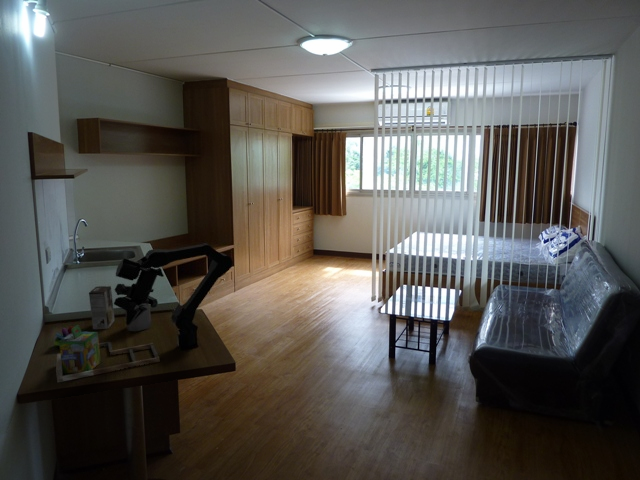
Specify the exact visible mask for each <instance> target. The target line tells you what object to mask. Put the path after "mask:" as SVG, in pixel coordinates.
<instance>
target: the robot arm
mask: <svg viewBox="0 0 640 480" xmlns="http://www.w3.org/2000/svg"><path fill="white" fill-rule="evenodd" d="M202 256H206V257H207V258H208V259H210V260H211V262H210V264H209V268H208V271H207V272H206V273H205V275H204V277H203V278H202V280H201V281H200V283H199V284H198V285H197V286H196V287H195V289H194V290H193V292H192V293H191V295H190V297H189V298H188V300H187V301H186V302H185V303H184V304H182V305H181V303H178V304H177V305H176V307H175V309H174V310H173V311H171V313H172V315H171V322H172V323H173V325H174V326H175V327H176V328H177V329H178V330H177V332H178V334H176V337H177V346H178V347H179V348H180V350H188V349H193V348H198V347H199V345H200V344H199V343H198V328H199V327H198V325H197V324H196V323H195V322H194V319H195V315H196V312H197V310H198V308H199V307H200V305H201V304H202V302H203V301H204V300H205V298H206V296H207V295H208V293H210V291H211V289H213V286H214V285H215V284H216V283H217V281H218V280H219V279H220V278H221V277H223V276H224V275H226V273H227V272H228V271H229V270H230V269H232V267H233V265H234V262H233V260H232V257H231V256H229V255H227V254H225V253H222V252H219V251H217V250H216V249H214V248H213V247H212V246H211V245H210V244H208V243H205V242H204V243H201V244H196V245H191V246H185V247H180V248H174V249H160V248H159V249H157V248H156V249H149V250H148V251H147V252H146V254H145V255H144V256H143V257H141V258H140V259H138V260H137V261H134V260H131V259H128V258H126V257H122V259H121V261H120V262H119V263H118V265H117V268H116V270H115V277H118V278H122V279H125V280H129V281H135V280H136V282H135V283H132V284H131V285H125V284H124V283H117V284H116V286H115V288H114V292H115V293H116V295H117V296H119V297H117V298H115V300H114V301H113V306H117V307H118V308H121V309H122V310H124V311H125V310H126V311H127V318H126V317H125V320H126V321H125V324H126V326H127V325H130V324H131V323H132V322H133V321H134V320H136V319H137V318H138V317H139V316H140V315H141V314H142V313H143V312H144V311H146V310H147V308H145V307H144V306H145V305H144V304H149V306H150V308H156V307H157V306H158V303H159V302H158V299H156V298H154V297H153V296H151V295H150V294H151V293H153V292H154V291H155V290H154V288H153V286H154V284H155V282H156V280H157V277H161V278H163V277H164V276H165V275H164V274H163V272H162V271H163V270H162V268H163V267H164V266H167V265H169V264H171V263H173V262H175V261H181V260H186V259H192V258H196V257H202ZM120 295H121V296H120ZM125 296H126V297H128V298H131V300H130V299H128V298H126V297H125Z"/></svg>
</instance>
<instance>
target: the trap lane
mask: <svg viewBox="0 0 640 480" xmlns="http://www.w3.org/2000/svg"><path fill="white" fill-rule="evenodd" d="M102 346H104V347H108V351H109V352H110V353H109V356H110V357H112V356H111V355H113V356H117V355H116V354H118V355H123V354H128V353H129V356H130V359H131V362H126V363H121V364H116V365H111V366H106V367H102V368H101V367H99V368H96V369H95V368H94V369H93V370H90V371H85V372H80V373H69V374H65V375H64V374H63V369H62V361H61V354H60V353H56V366H55V367H56V368H55V372H56V373H55V375H56V380H57V383H62V382H66V381H72V380H76V379H80V378H86V377H90V376H91V377H92V376H95V375H100V374H105V373H110V372H111V373H112V372H115V370H116V371H120V369H121V370H125V369H124V368H126V369H129V368H128V367H131V368H135V367H134V366H136V367H139V365H140V366H144V364H145V365H149V363H150V364H154V363H159V362H160V361H161V360H160V356H159V354H158V352H157V350H156V348H155V345H154V343H153V342H150V343H146V344H140V345H136V346H135V345H134V346H130V347H123V348H120V349H119V348H118V349H114V350H113V347H112V342H111V341H107V342H106V341H105V342H99V348H103V347H102ZM149 349H150V350H151V352H152V354H153V357H150V358H146V359H145V358H144V359H141V360H136V356H135V353H134V352H138V351H144V350H149ZM122 353H123V354H122Z"/></svg>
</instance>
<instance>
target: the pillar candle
mask: <svg viewBox="0 0 640 480" xmlns="http://www.w3.org/2000/svg"><path fill="white" fill-rule="evenodd" d="M126 296H127V295H124V297H126ZM126 298H128V297H126ZM128 299H130V300H131V298H128ZM144 305H145V306H144V307H145V308H147V310H146V311H144V312H143V313H142V314H141V315H140V316H139V317H138V318H137V319H136V320H134V321H133V322H132V323H131V324H130V325H127V324H126V329H127V331H128V332H141V331H144V330H147V329H149V328H151V327H152V319H151V318H152V316H151V309H150V308H151V305H150V304H144ZM124 312H125V319H126V318H127V311H126V310H124Z"/></svg>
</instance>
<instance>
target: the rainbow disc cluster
mask: <svg viewBox="0 0 640 480" xmlns="http://www.w3.org/2000/svg"><path fill="white" fill-rule="evenodd" d="M74 327H75V326H69V327H68V329H67V328H65V327H63V328H62V329H61V333H62V335H61V334H60V333H55V337H54V339H53V345H54V346H59V341H60V340H62V339H63V338H64V337H66V336H67V335H69V334H70V333H72V331H71V329H72V328H74ZM75 332H78V330H77V329H76V330H75Z"/></svg>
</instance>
